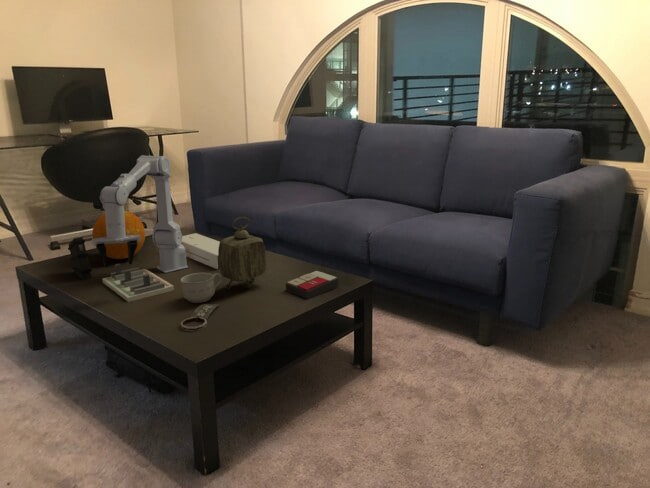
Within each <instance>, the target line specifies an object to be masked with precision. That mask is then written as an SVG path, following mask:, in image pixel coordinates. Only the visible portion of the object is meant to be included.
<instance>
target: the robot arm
mask: <svg viewBox="0 0 650 488" xmlns="http://www.w3.org/2000/svg"><path fill="white" fill-rule="evenodd" d="M145 175H146V176H148V177H150V178H151V179H153V180H154V183H155V184H154V185H155V197H156V210H157V221H158V222H157V223H156V224H155V225H154V226H153V227H152V229H153V231H152V238H151V240H152V242H153V244H154V245H156V248H158V256H159V263H160V265H158V266H156V269H158V270H160V271H161V272H162V273H165V274H166V273H171V272H175V271H179V270H184V269H187V268H189V266H188V262H187V256H186V251H185V248H184V246H183V245H182V244H181V242H182V236H183V234H182V231H181V226H180V225H179V224H178V223H176V221H174V218H173V208H172V207H173V206H172V193H171V180H170V178H171V177H172V167H171V160H170V159H169V158H168V157H167V156H165V155H143V154H142V155H140V156H139V157H138V158H137V159H136V164H135V166H134V167H132V169H131V170H130V171H129V172H128V173H121V174H120V175H119V177H118V178H117V179H116V180H115V181H113V182H112V184H110V186H109V185H108V186H107V185H106V186H104V187H103V188H102V189H101V191H100V195H99V200H100V202H101V205H102V209H103V210H104V214H105V218H106V232H107V237H102V238H95V239H93V238H91V244H92V246H93V247H94V246H95V245H96V246H95V248H96V247H97V248H96V249H97V250H98V252H99V254H100V257H101V259H102V263H103V267H105V268H107V267H108V260H107V258H108V257H107V256H106V247H105V245H104V244H113V243H124V242H127V246H128V258H127V260H128V261H127V262H128V264H129V265H132V264H133V259H134V256H135V254H134V252H135V250H136V248H137V246H138V243H137V242H140V236H139V235H126V233H125V217H124V210H125V205H124V204H126V203H127V200H128V197H129V195H130V193H131V192H132V191H133V190H134V189H135V188H136V187H137V182H138V181H139V180H140V179H142V177H144V176H145ZM113 241H115V242H113Z"/></svg>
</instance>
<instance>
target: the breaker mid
mask: <svg viewBox="0 0 650 488" xmlns="http://www.w3.org/2000/svg"><path fill="white" fill-rule="evenodd" d="M124 270H125V271H124V275H125V282H128V281H132V280H131V272H130V270H127V269H124Z"/></svg>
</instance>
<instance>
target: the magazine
mask: <svg viewBox="0 0 650 488" xmlns="http://www.w3.org/2000/svg"><path fill="white" fill-rule="evenodd" d="M85 243H86V239H84V238H83V236H81V237H75V238H73V239H72V240H71V241H70V243H69V244H68V248H67V250H68V251H69V252H70V260H71V261H72V267H71V269H72V270H73V273H74V274H75V275H77V276H78V277H79V278H80V279H82V280H83V281H85V280H90V279H91V278H92V268H90V267H91V266H90V262H89V256H90V255H89V253H88V252H87V249H86V245H85Z"/></svg>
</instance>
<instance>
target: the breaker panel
mask: <svg viewBox="0 0 650 488" xmlns="http://www.w3.org/2000/svg"><path fill="white" fill-rule="evenodd" d="M125 270H130V272H131V280H132V281H128V282H125V275H124V271H125ZM121 271H122V274H120V275H116V276H115V274H116V272H115V271H114V272H111V273H110V276H109V277H108V276H107V277H103V278H101V279H102V283H103V284H104V285H105V286H107V287H108V288H109V289H111V290H112V291H113V292H115V293H116V294H117V295H118V296H120V297H121V298H123V299H124V300H125V301H126V302H128V303H130V302H133V301H137V300H142V299H145V298H149V297H153V296H155V295H160V294H164V293H169V292H171V291H175V288H174V287H175V286H174V285H173V284H172V283H170V282H169V281H166V280H165V279H163V278H161V277H160V276H158V275H156V274H155V273H153V272H152V271H150V270H148V269H147V268H143V269H140V267H138V266H136V267H132V268H128V269H123V270H121ZM146 274H148V275H149V277H150V286H146V287H144V286H143V285H144V281H143V275H146Z"/></svg>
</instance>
